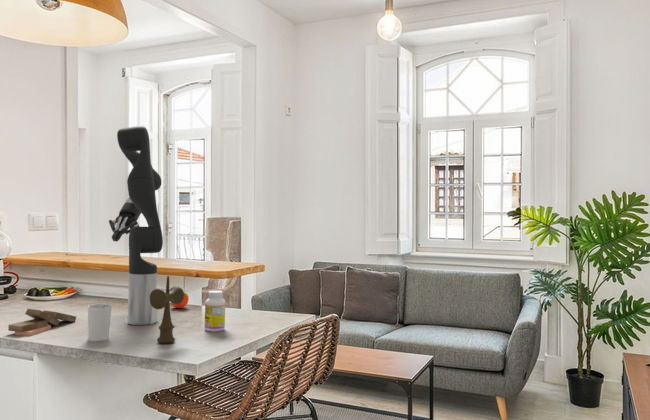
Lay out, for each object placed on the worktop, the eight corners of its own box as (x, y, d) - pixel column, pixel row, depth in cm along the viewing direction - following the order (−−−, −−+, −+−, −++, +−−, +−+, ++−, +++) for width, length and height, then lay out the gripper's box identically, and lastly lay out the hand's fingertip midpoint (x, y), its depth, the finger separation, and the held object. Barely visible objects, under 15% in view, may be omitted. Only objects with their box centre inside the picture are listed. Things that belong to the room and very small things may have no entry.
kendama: (147, 344, 160) (149, 276, 160) (168, 338, 169) (170, 273, 169) (163, 347, 158) (165, 278, 158) (184, 340, 167) (186, 275, 167)
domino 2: (47, 319, 183) (27, 308, 174) (59, 320, 181) (40, 310, 173) (45, 324, 182) (25, 313, 173) (57, 326, 180) (37, 315, 172)
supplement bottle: (202, 328, 184) (204, 290, 184) (222, 327, 186) (223, 289, 186) (205, 332, 178) (207, 293, 178) (226, 331, 180) (227, 292, 180)
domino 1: (35, 318, 177) (8, 324, 167) (47, 320, 175) (21, 326, 166) (35, 324, 177) (8, 330, 167) (47, 325, 175) (20, 332, 166)
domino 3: (36, 324, 177) (14, 331, 167) (50, 325, 176) (29, 332, 166) (36, 329, 177) (14, 337, 167) (50, 330, 176) (29, 338, 166)
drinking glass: (93, 335, 169) (94, 303, 169) (114, 336, 169) (115, 304, 169) (82, 341, 162) (83, 307, 162) (104, 341, 162) (105, 308, 162)
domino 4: (64, 315, 189) (43, 310, 180) (76, 316, 188) (55, 311, 179) (63, 320, 189) (41, 315, 180) (75, 321, 187) (54, 317, 178)
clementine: (194, 308, 218) (194, 290, 218) (182, 310, 212) (183, 292, 212) (178, 306, 222) (178, 288, 222) (166, 308, 216) (167, 290, 215)
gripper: (114, 201, 222) (95, 232, 210) (144, 202, 219) (126, 234, 207) (121, 214, 227) (103, 245, 215) (150, 215, 224) (133, 247, 212)
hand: (114, 240), depth 211 cm, fingers closed
